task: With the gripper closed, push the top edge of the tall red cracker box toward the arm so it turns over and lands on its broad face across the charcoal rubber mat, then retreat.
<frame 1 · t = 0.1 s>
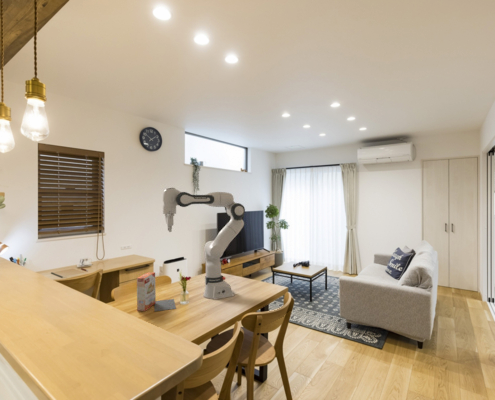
hand: (169, 231, 194), 48 cm above the table, fingers open, 8 cm apart
mat: (164, 305, 185), on the table
cracker box: (147, 307, 181), on the table, touching mat
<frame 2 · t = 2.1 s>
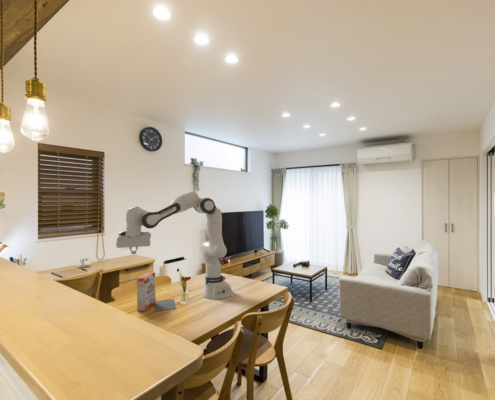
hand: (133, 253, 179), 35 cm above the table, fingers closed
nothing on the table moved.
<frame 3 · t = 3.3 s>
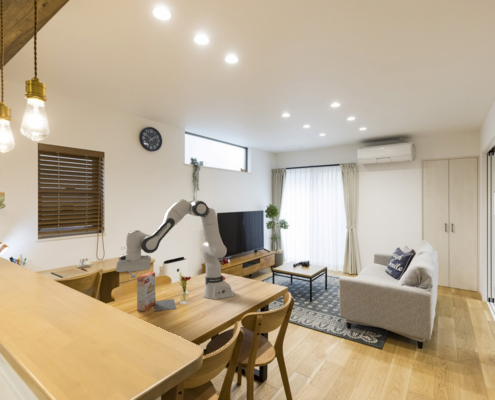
hand: (133, 277, 179), 20 cm above the table, fingers closed
nothing on the table moved.
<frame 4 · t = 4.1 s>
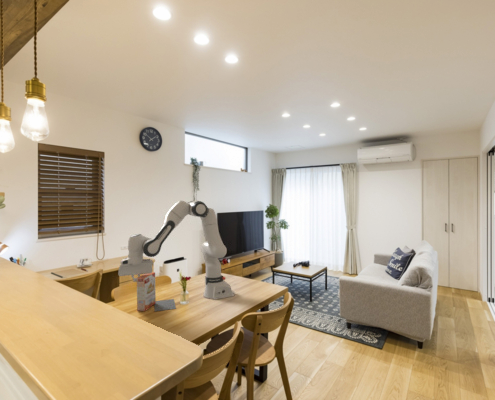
hand: (135, 281, 179), 17 cm above the table, fingers closed
cracker box: (147, 307, 181), on the table, touching gripper, mat
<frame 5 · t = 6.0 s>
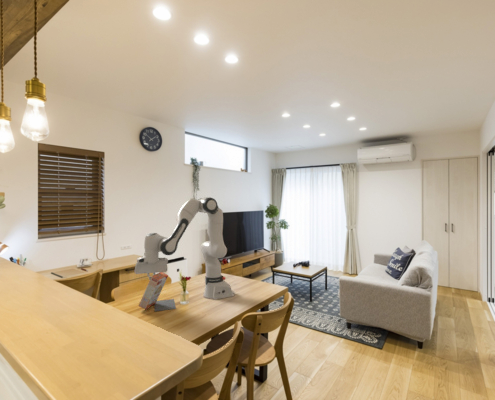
hand: (151, 279, 182), 18 cm above the table, fingers closed
cracker box: (147, 304, 181), point 1 cm above the table, touching mat
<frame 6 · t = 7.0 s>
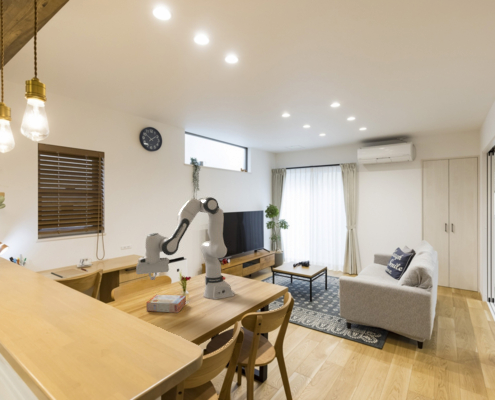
hand: (152, 279, 183), 18 cm above the table, fingers closed
cracker box: (151, 302, 181), point 3 cm above the table, touching mat
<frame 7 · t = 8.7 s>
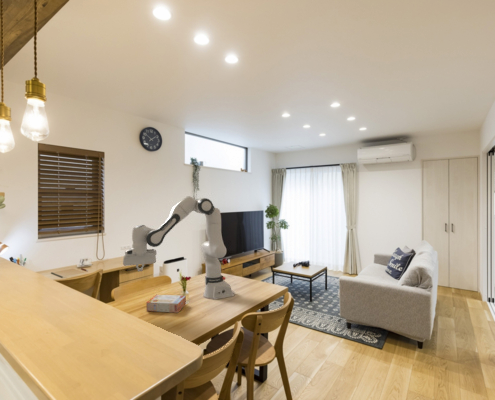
hand: (140, 271, 184), 23 cm above the table, fingers closed
nothing on the table moved.
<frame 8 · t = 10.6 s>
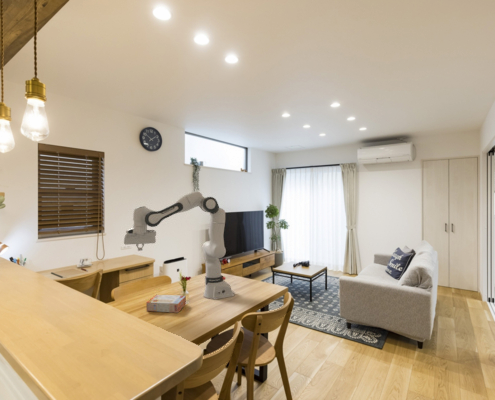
hand: (140, 250, 191), 35 cm above the table, fingers closed
nothing on the table moved.
at the end: cracker box tilted 89°; cracker box inside the target area (4.2 cm from its centre), point 3.1 cm above the table; the gripper is holding nothing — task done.
